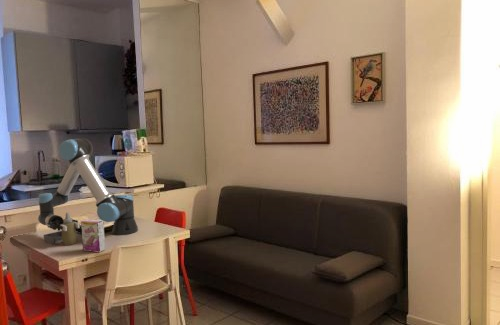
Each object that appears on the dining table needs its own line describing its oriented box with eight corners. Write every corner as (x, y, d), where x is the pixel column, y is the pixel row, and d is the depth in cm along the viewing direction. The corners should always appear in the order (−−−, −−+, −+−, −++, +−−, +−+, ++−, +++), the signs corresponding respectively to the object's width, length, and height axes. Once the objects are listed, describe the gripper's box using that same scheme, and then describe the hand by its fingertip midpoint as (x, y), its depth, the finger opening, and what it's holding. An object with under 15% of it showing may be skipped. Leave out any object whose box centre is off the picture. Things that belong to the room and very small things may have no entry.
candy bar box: (82, 251, 225) (80, 221, 223) (89, 248, 230) (86, 219, 228) (99, 252, 222) (97, 222, 220) (106, 249, 226) (103, 220, 224)
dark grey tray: (44, 240, 248) (43, 234, 248) (65, 235, 258) (65, 229, 257) (53, 244, 239) (53, 238, 239) (76, 239, 249) (75, 233, 249)
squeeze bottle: (65, 242, 243) (62, 211, 242) (79, 241, 244) (76, 210, 242) (59, 246, 235) (57, 214, 234) (74, 245, 236) (72, 214, 234)
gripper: (71, 224, 258) (89, 229, 243) (38, 231, 244) (55, 237, 229) (70, 212, 257) (88, 217, 242) (36, 218, 243) (54, 224, 228)
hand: (72, 227), depth 235 cm, fingers closed on squeeze bottle, 6 cm apart
